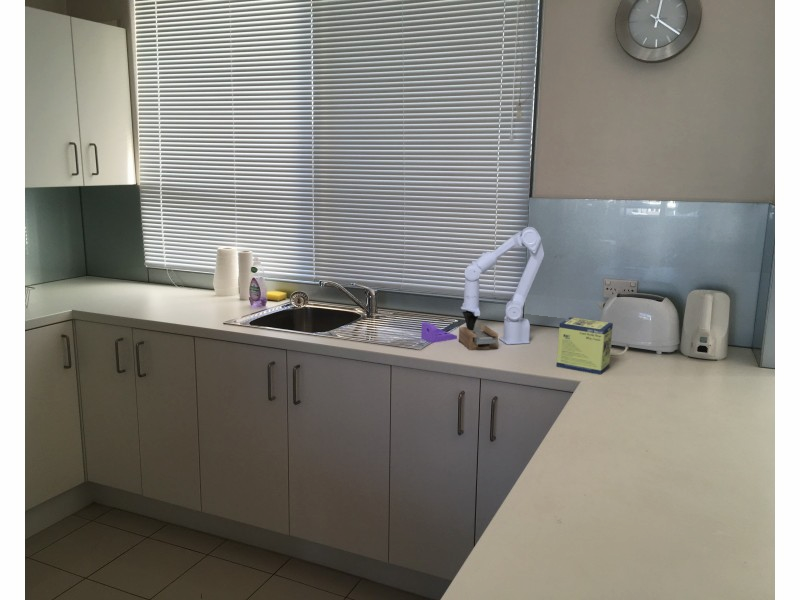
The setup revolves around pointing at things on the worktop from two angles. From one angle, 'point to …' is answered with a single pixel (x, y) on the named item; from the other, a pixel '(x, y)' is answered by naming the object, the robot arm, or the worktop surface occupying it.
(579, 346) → the protein box
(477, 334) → the cover plate
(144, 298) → the worktop surface
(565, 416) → the worktop surface
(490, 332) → the sleeve box
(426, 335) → the bracket
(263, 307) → the worktop surface
